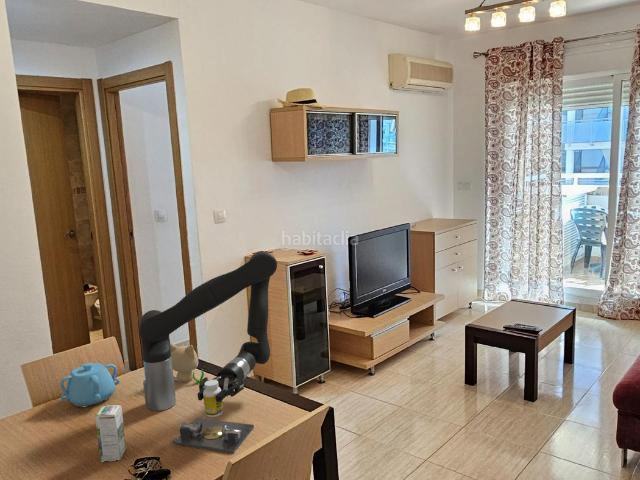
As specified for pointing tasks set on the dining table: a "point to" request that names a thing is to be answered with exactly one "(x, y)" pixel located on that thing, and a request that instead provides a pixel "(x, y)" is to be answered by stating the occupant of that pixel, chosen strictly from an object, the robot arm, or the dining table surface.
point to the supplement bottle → (212, 399)
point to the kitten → (184, 363)
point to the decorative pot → (89, 384)
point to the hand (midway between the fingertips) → (208, 398)
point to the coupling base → (213, 435)
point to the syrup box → (110, 433)
